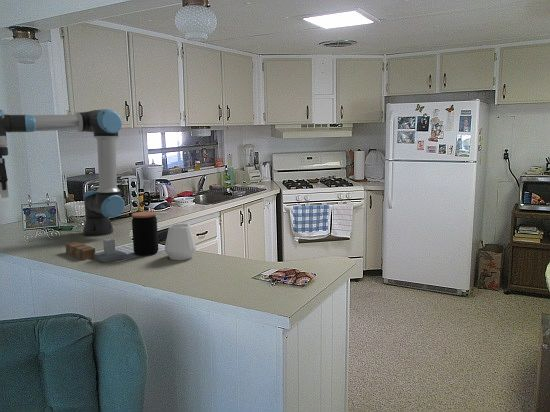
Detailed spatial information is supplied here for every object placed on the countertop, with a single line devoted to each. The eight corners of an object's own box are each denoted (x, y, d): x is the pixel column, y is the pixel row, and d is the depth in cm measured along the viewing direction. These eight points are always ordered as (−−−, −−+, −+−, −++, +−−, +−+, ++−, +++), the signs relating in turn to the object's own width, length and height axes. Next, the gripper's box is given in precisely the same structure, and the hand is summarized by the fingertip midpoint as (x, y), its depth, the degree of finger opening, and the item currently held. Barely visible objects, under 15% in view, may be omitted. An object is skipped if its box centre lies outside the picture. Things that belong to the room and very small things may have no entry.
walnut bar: (66, 253, 206) (65, 243, 205) (77, 251, 210) (76, 241, 209) (84, 260, 194) (83, 250, 193) (95, 258, 198) (94, 248, 197)
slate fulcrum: (115, 253, 204) (114, 236, 203) (126, 257, 197) (125, 239, 196) (93, 258, 197) (92, 240, 196) (104, 262, 190) (102, 243, 189)
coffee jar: (147, 248, 212) (145, 210, 209) (163, 252, 206) (161, 212, 203) (128, 253, 203) (126, 214, 200) (144, 257, 197) (142, 216, 194)
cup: (194, 261, 191) (193, 228, 189) (162, 261, 191) (160, 229, 188) (197, 252, 205) (196, 222, 202) (167, 253, 204) (166, 222, 201)
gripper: (-17, 146, 202) (-11, 193, 205) (-10, 147, 183) (-4, 199, 186) (3, 145, 207) (8, 192, 210) (12, 146, 187) (17, 198, 191)
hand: (2, 195), depth 198 cm, fingers open, 13 cm apart
